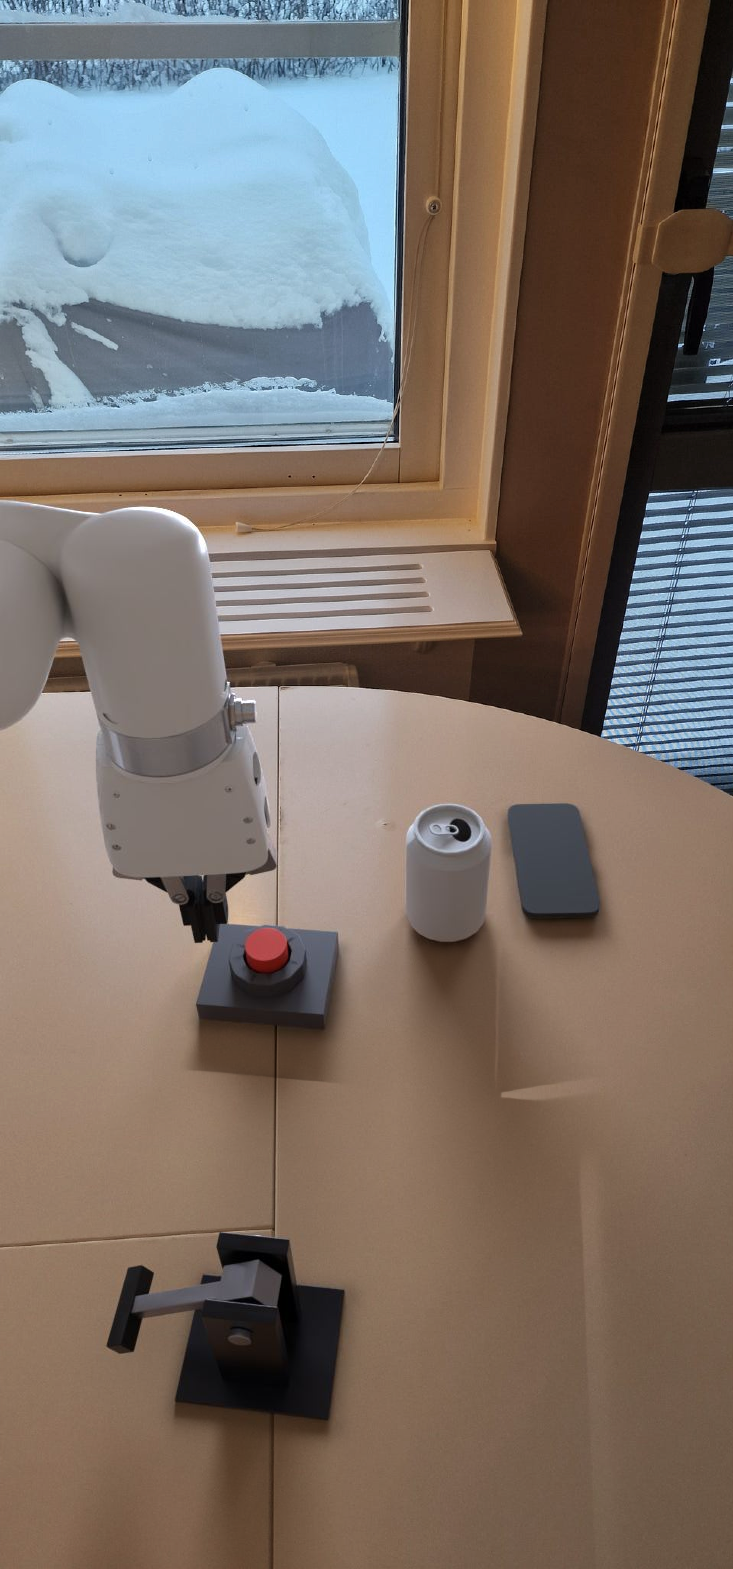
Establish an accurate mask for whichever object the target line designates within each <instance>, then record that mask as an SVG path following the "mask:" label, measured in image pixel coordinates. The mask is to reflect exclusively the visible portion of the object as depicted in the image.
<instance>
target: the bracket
mask: <svg viewBox="0 0 733 1569" xmlns="http://www.w3.org/2000/svg"><path fill="white" fill-rule="evenodd" d="M215 1248H216V1251H217V1253H218V1258H219V1262H220V1265H221V1266H220V1267H221V1268H222V1270H223V1267H224V1266H226V1265H231V1264H237V1263H242V1262H247V1261H253V1260H260V1261H262V1262H263V1263H265V1264H266V1265H267V1266H269V1267H270V1268H272V1269H273V1270H275V1271H276V1272H278V1273H279V1274H281V1275H282V1278H281V1284H280V1290H279V1296H278V1302H277V1307H273V1306H264V1305H255V1304H246V1303H237V1302H228V1301H219V1300H210V1299H205V1301H204V1305H203V1309H198V1310H194V1312H193V1317H192V1321H191V1326H190V1329H189V1335H188V1338H187V1343H186V1347H185V1352H184V1356H183V1361H182V1366H181V1370H180V1374H179V1378H178V1384H177V1387H176V1393H175V1397H174V1401H175V1403H180V1404H190V1405H197V1406H206V1407H214V1408H221V1409H222V1408H223V1409H232V1410H239V1411H247V1412H255V1413H264V1414H271V1415H279V1416H280V1415H281V1416H289V1417H296V1418H304V1419H313V1420H320V1421H321V1420H322V1421H329V1420H330V1412H331V1406H332V1405H331V1404H332V1398H333V1397H332V1395H333V1387H334V1381H335V1370H336V1362H337V1356H338V1347H339V1340H340V1331H341V1324H342V1315H343V1309H344V1308H343V1307H344V1299H345V1292H346V1291H345V1289H344V1288H338V1287H337V1288H336V1287H327V1286H317V1285H308V1284H300V1283H297V1277H296V1270H295V1265H294V1259H293V1253H292V1246H291V1241H290V1239H289V1238H282V1237H272V1236H264V1235H259V1234H244V1233H234V1232H227V1231H220V1232H219V1233H218V1236H217V1242H216V1245H215ZM221 1277H222V1275H217V1274H216V1275H215V1274H209V1273H208V1274H207V1273H203V1274H202V1277H201V1281H200V1285H202V1284H208V1283H214V1282H220V1281H221Z"/></svg>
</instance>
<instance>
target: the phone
mask: <svg viewBox="0 0 733 1569" xmlns="http://www.w3.org/2000/svg"><path fill="white" fill-rule="evenodd" d="M507 822H508V823H507V824H508V829H509V835H510V836H509V837H510V841H511V847H512V856H513V861H514V868H515V875H516V882H517V883H516V884H517V888H518V893H519V900H520V907H521V911H522V913H523V915H525V916H526V917H528V918H531V919H582V918H584V919H585V918H593V917H596V916H597V915H598V914H599V913H600V909H601V901H600V895H599V891H598V888H597V883H596V878H595V874H594V869H593V865H592V861H591V856H590V852H589V849H588V842H587V839H586V834H585V830H584V826H583V822H582V818H581V813H580V810H579V808H578V807H577V806H576V805H575V804H572V803H562V802H559V803H518V804H513V805H511V806H510V807H509V808H508V810H507Z"/></svg>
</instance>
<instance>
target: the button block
mask: <svg viewBox="0 0 733 1569" xmlns="http://www.w3.org/2000/svg"><path fill="white" fill-rule="evenodd" d="M262 928H273V929H276V930H278V931H280V932H281V933H283V935H284V936H285V937H286V940H287V948H288V960H287V962H286V964H285V965H284V966H283V967H282V968H281V969H279V970H278V971H275V972H272V973H259V972H256V971H254V970H253V969H252V968H251V967H250V966H249V965H248V962H247V957H246V951H245V942H246V940H247V938H248V936H249V935H250V934H252V933H253V932H254V931H256V930H259V929H262ZM339 944H340V943H339V931H333V930H320V929H319V930H317V929H305V928H292V927H291V928H290V927H285V926H283V925H275V924H261V925H251V924H240V923H239V924H237V923H227V924H220V926H219V938H218V942H212V947H211V950H210V953H209V957H208V960H207V964H206V967H205V971H204V974H203V978H202V981H201V984H200V988H199V992H198V996H197V1000H196V1003H195V1006H196V1011H197V1015H198V1019H199V1020H207V1021H217V1022H218V1021H220V1022H231V1023H239V1024H240V1023H241V1024H242V1023H243V1024H253V1025H265V1026H278V1027H287V1028H288V1027H291V1028H303V1029H312V1030H313V1029H314V1030H326V1026H327V1019H328V1014H329V1009H330V1001H331V996H332V990H333V985H334V984H333V983H334V978H335V972H336V965H337V959H338V954H339V949H340V945H339Z"/></svg>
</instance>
